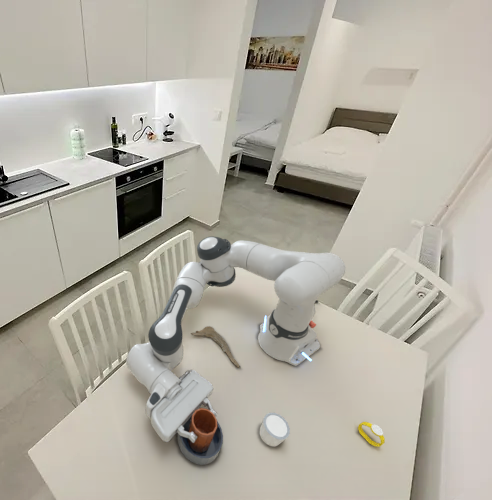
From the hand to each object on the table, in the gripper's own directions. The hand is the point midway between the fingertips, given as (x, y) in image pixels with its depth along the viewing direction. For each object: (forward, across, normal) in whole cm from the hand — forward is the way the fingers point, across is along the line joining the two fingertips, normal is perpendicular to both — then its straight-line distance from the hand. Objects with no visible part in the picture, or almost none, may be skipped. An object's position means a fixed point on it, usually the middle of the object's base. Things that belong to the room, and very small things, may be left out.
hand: (205, 428), depth 74 cm
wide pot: (-1, 0, -10) cm, 10 cm away
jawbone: (-16, -28, -10) cm, 33 cm away
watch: (+31, -37, -10) cm, 49 cm away
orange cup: (-1, 0, -9) cm, 9 cm away
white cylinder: (+12, -16, -10) cm, 23 cm away
